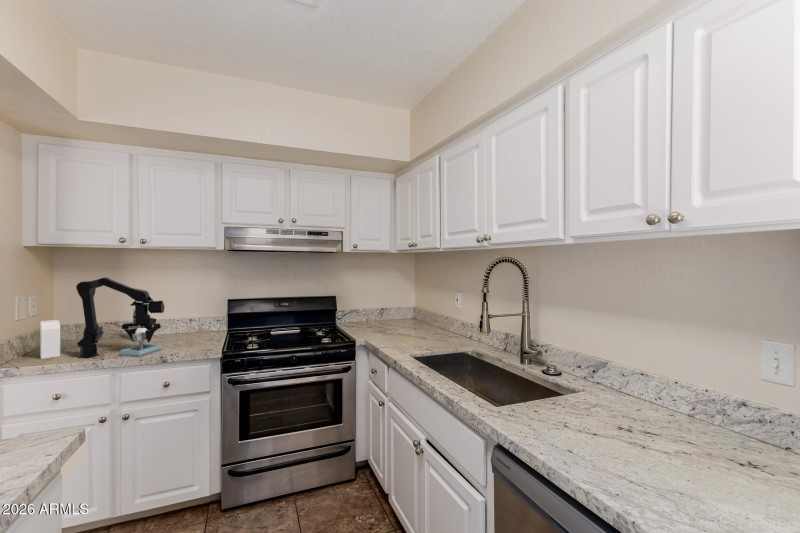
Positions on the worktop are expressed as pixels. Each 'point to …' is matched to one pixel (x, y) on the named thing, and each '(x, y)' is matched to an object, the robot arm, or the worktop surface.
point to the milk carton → (50, 339)
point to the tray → (137, 352)
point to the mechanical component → (139, 338)
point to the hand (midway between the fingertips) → (141, 341)
